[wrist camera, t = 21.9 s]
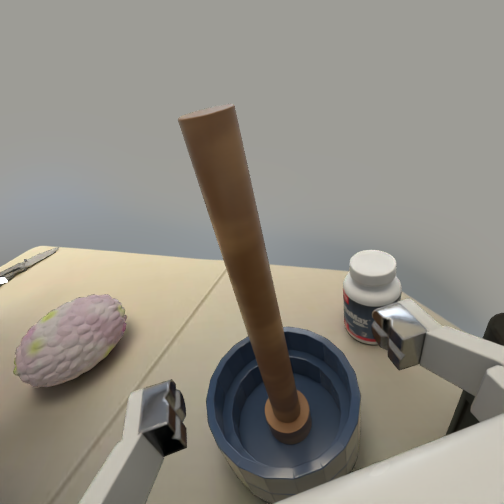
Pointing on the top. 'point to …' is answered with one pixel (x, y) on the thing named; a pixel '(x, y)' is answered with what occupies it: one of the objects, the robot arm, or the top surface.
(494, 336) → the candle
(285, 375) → the muddler
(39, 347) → the decorative item
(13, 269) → the knife
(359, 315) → the pill bottle
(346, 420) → the bowl
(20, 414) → the top surface
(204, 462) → the top surface
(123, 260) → the top surface
